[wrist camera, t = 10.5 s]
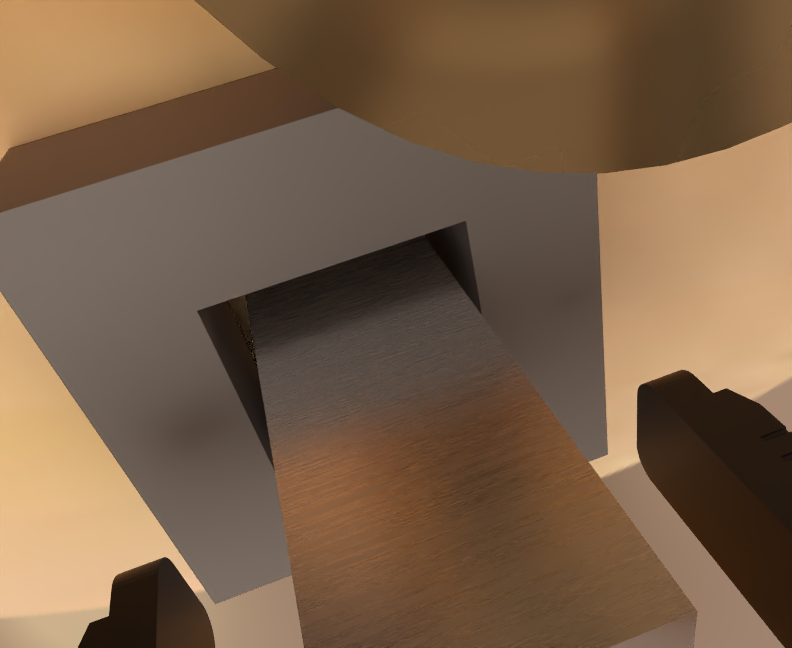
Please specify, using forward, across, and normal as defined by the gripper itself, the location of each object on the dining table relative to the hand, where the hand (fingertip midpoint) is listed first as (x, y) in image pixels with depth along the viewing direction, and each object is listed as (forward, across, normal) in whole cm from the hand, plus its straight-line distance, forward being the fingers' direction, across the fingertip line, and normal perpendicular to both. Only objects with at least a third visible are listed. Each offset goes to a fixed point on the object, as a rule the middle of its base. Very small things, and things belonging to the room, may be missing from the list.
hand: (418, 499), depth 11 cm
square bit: (+8, 0, 0) cm, 8 cm away
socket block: (+8, 0, 0) cm, 8 cm away
